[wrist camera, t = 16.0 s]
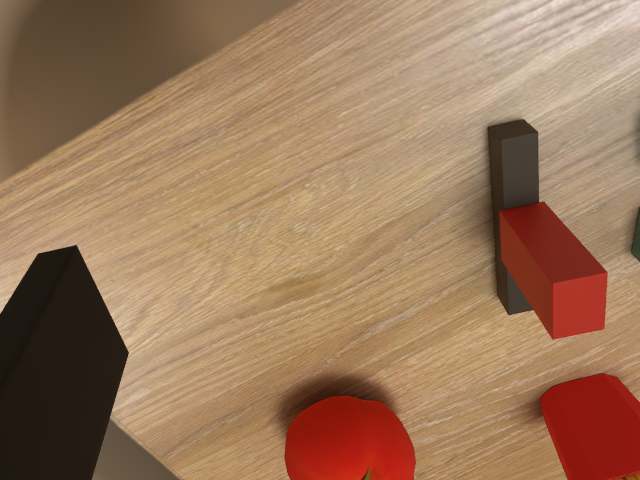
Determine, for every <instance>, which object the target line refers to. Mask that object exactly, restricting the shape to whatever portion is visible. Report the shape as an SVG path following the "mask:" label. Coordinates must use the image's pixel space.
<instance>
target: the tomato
mask: <svg viewBox="0 0 640 480" xmlns="http://www.w3.org/2000/svg"><path fill="white" fill-rule="evenodd" d="M285 463H286V468H287V473H288V475H289V478H290V480H414V469H415V463H416V460H415V453H414V447H413V444H412V442H411V440H410V437H409V435H408V433H407V431H406V429H405V428H404V426H403V424H402V422H401V421H400V420H399V418H398V417H397V416H396V415H395V413H394V412H393V411H391V410H390V409H389V408H388V407H387V406H386V405H384V404H383V403H381V402H379V401H377V400H369V401H364V400H361V399H358V398H355V397H352V396H334V397H328V398H326V399H324V400H321V401H319V402H316V403H314V404H313V405H311V406H310V407H308V408H307V409H305V410H304V411H302V412H301V413H299V414H298V415H297V417H296V418H295V419H294V420H293V421H292V422H291V424H290V427H289V429H288V431H287V436H286V446H285Z"/></svg>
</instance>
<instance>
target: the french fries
mask: <svg viewBox="0 0 640 480" xmlns="http://www.w3.org/2000/svg"><path fill="white" fill-rule="evenodd" d="M540 402H541V409H542V415H543V417H544V420H545V423H546V425H547V428H548V430H549V433H550V435H551V438H552V441H553V443H554V446H555V448H556V451H557V453H558V456H559V459H560V461H561V464H562V466H563V469H564V472H565V474H566V477H567V479H568V480H640V402H639V401H638V400H637V399H636V398H635V397H634V396H633V394H632V393H631V392H630V391H629V390H628V389H627V388H626V387H625V386H624V385H623V383H622V382H621V381H620V380H619V379H618V378H617V377H613V376H610V375H607V374H603V373H602V374H598V375H593V376H589V377H585V378H581V379H577V380H574V381H570V382H566V383H563V384H560V385H556V386H553V387H552V388H551V389H550V390H548V391H547V392H546V393H545V394H544V395H543V396H542V397H541V398H540Z"/></svg>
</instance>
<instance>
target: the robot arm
mask: <svg viewBox="0 0 640 480" xmlns="http://www.w3.org/2000/svg"><path fill="white" fill-rule="evenodd" d="M128 354H129V352H128V350H127V348H126V346H125V344H124V342H123V340H122V338H121V336H120V334H119V332H118V329H117V327H116V325H115V323H114V321H113V319H112V317H111V315H110V313H109V311H108V309H107V307H106V305H105V303H104V301H103V299H102V297H101V294H100V292H99V290H98V288H97V286H96V284H95V282H94V280H93V278H92V276H91V274H90V272H89V270H88V268H87V266H86V264H85V262H84V259H83V257H82V255H81V253H80V251H79V249H78V247H77V245H75V246H70V247H66V248H61V249H57V250H52V251H48V252H43V253H39V254H37V256H36V258H35V259H34V261H33V262H32V264H31V266H30V267H29V269H28V270H27V272H26V274H25V275H24V277H23V278H22V280H21V282H20V283H19V285H18V287H17V288H16V290H15V291H14V293H13V295H12V296H11V298H10V299H9V301H8V303H7V304H6V306H5V307H4V309H3V311H2V312H1V314H0V480H92V477H93V473H94V470H95V466H96V463H97V460H98V456H99V453H100V449H101V446H102V442H103V439H104V436H105V432H106V429H107V425H108V422H109V419H110V415H111V412H112V408H113V405H114V402H115V398H116V395H117V391H118V388H119V385H120V381H121V378H122V374H123V371H124V368H125V364H126V361H127V357H128Z"/></svg>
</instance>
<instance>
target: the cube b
mask: <svg viewBox="0 0 640 480" xmlns="http://www.w3.org/2000/svg"><path fill="white" fill-rule="evenodd" d="M632 255H633V256H634V257H635V258H636V259H637V260H638V261H639V262H640V208H639V213H638V219H637V225H636V231H635V237H634V242H633V248H632Z"/></svg>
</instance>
